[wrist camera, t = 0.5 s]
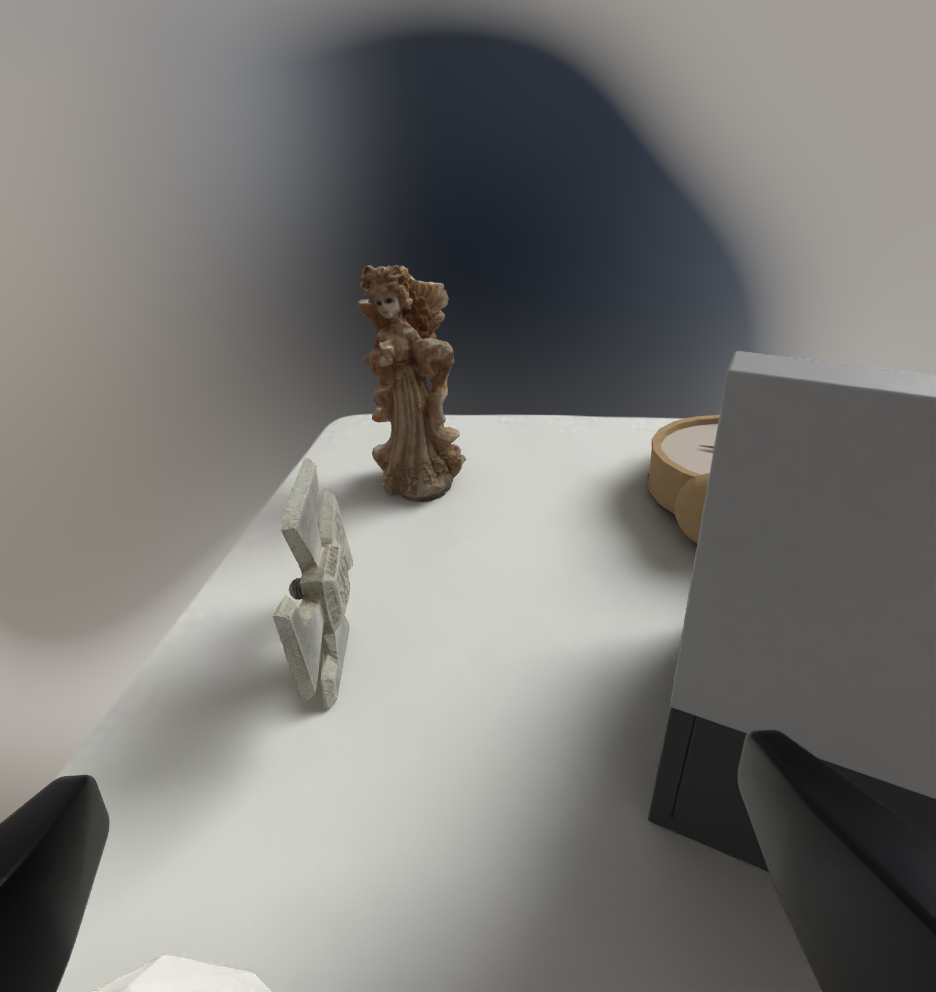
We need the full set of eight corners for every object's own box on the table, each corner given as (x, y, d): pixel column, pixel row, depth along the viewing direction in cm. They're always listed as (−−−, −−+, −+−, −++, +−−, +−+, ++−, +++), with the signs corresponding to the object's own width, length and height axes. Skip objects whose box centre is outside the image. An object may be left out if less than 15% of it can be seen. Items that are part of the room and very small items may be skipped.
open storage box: (704, 623, 33) (727, 516, 29) (1122, 744, 26) (1222, 625, 23) (647, 820, 25) (670, 705, 21) (1242, 1074, 18) (1435, 971, 14)
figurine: (353, 498, 44) (315, 277, 36) (381, 455, 49) (352, 251, 41) (457, 507, 43) (442, 278, 35) (475, 462, 48) (465, 252, 39)
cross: (349, 750, 28) (306, 573, 22) (287, 753, 28) (229, 577, 22) (373, 589, 36) (346, 433, 31) (326, 592, 36) (291, 436, 31)
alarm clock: (796, 412, 46) (920, 495, 32) (785, 476, 48) (897, 580, 34) (636, 415, 46) (691, 497, 33) (632, 478, 48) (682, 581, 35)
